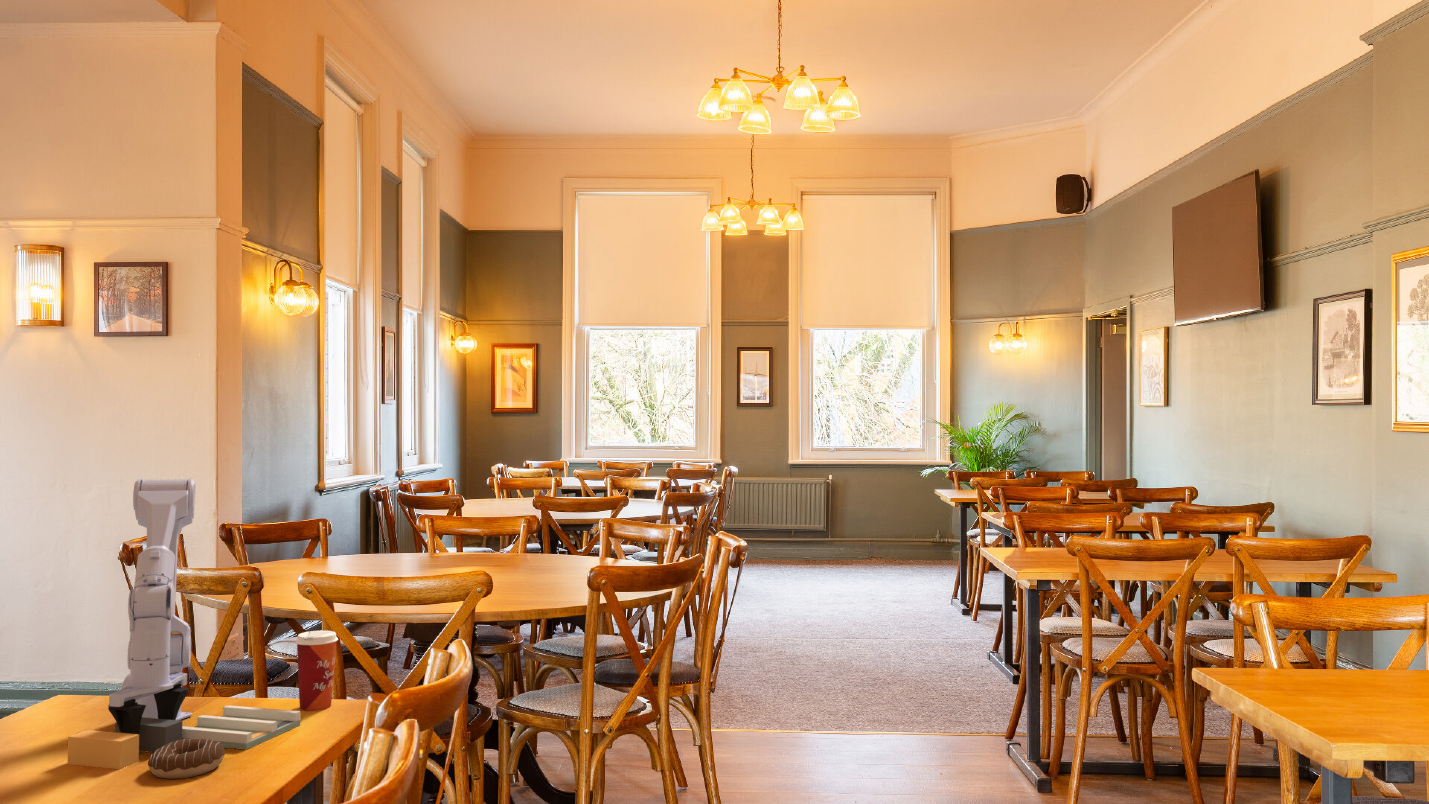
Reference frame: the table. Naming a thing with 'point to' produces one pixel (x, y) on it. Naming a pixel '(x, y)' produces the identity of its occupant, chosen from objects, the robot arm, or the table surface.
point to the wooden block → (103, 749)
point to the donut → (186, 758)
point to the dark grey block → (157, 733)
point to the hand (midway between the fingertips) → (148, 738)
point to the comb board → (243, 726)
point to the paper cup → (316, 669)
